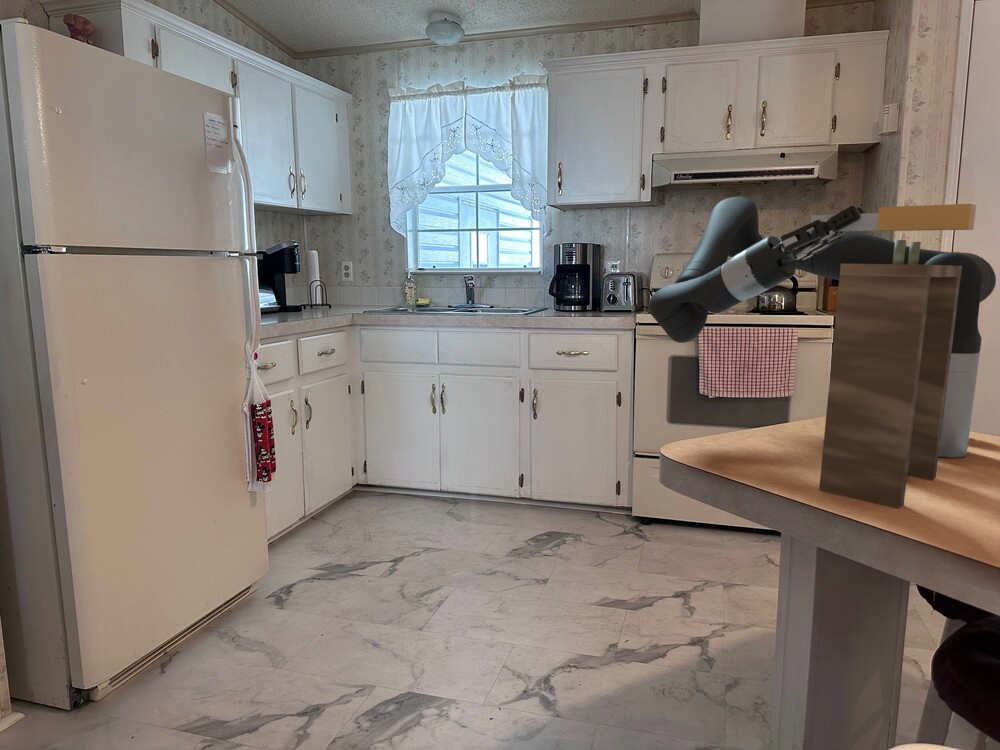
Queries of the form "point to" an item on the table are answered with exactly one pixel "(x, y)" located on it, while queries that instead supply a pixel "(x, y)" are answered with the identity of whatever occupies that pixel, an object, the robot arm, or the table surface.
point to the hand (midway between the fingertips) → (860, 212)
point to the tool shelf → (888, 376)
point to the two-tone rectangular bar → (913, 218)
